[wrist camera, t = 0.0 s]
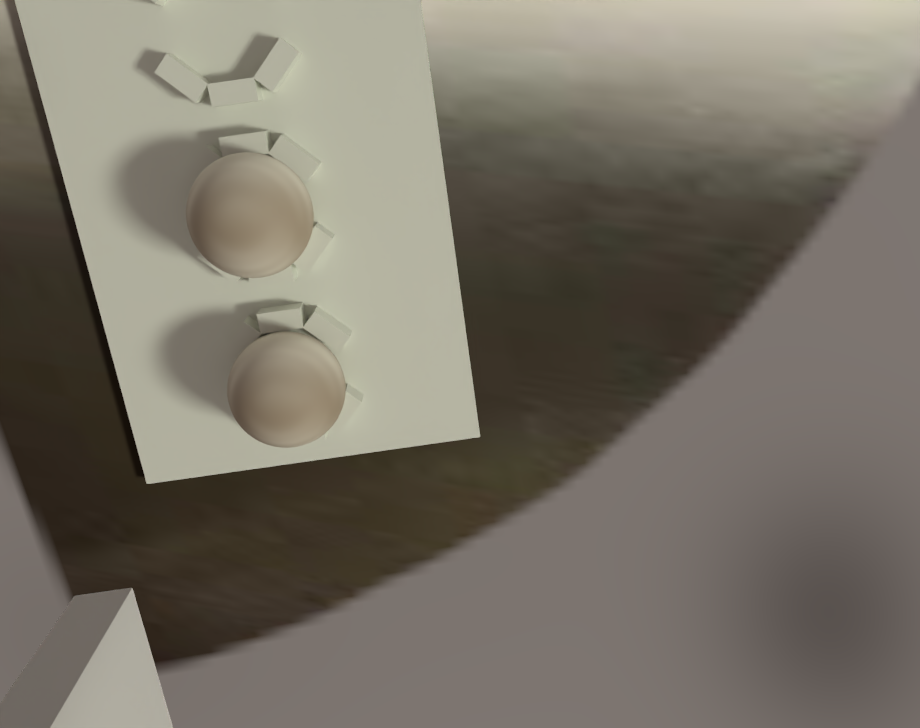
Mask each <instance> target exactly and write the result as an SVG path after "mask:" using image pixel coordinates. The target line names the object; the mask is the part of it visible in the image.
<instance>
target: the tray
mask: <svg viewBox="0 0 920 728" xmlns="http://www.w3.org/2000/svg"><path fill="white" fill-rule="evenodd" d="M15 4H16V7H17V11H18V15H19V18H20V22H21V26H22V29H23V33H24V37H25V40H26V44H27V48H28V51H29V55H30V59H31V62H32V66H33V70H34V73H35V77H36V80H37V84H38V88H39V91H40V95H41V99H42V102H43V106H44V110H45V113H46V117H47V121H48V124H49V128H50V132H51V135H52V139H53V143H54V146H55V150H56V154H57V157H58V161H59V165H60V168H61V172H62V176H63V179H64V183H65V187H66V190H67V194H68V198H69V201H70V205H71V209H72V212H73V216H74V219H75V223H76V227H77V230H78V234H79V238H80V241H81V245H82V249H83V252H84V256H85V260H86V263H87V267H88V271H89V274H90V278H91V282H92V285H93V289H94V293H95V296H96V300H97V304H98V307H99V311H100V315H101V318H102V322H103V326H104V329H105V333H106V337H107V340H108V344H109V348H110V351H111V355H112V358H113V362H114V366H115V369H116V373H117V377H118V380H119V384H120V388H121V391H122V395H123V399H124V402H125V406H126V410H127V413H128V417H129V421H130V424H131V428H132V432H133V435H134V439H135V443H136V446H137V450H138V454H139V457H140V461H141V465H142V468H143V472H144V476H145V479H146V483H147V484H150V483H158V482H165V481H172V480H179V479H186V478H193V477H200V476H207V475H214V474H221V473H228V472H235V471H242V470H250V469H257V468H264V467H271V466H278V465H285V464H292V463H299V462H306V461H313V460H320V459H327V458H334V457H342V456H349V455H356V454H363V453H370V452H377V451H384V450H391V449H398V448H405V447H412V446H419V445H426V444H434V443H441V442H448V441H455V440H462V439H469V438H476V437H480V432H479V424H478V417H477V410H476V402H475V395H474V388H473V380H472V373H471V366H470V358H469V351H468V344H467V336H466V329H465V322H464V314H463V307H462V300H461V292H460V285H459V278H458V270H457V263H456V256H455V248H454V241H453V234H452V226H451V219H450V212H449V204H448V197H447V190H446V182H445V175H444V168H443V160H442V153H441V146H440V139H439V131H438V124H437V117H436V109H435V102H434V95H433V87H432V80H431V73H430V65H429V58H428V51H427V43H426V36H425V29H424V21H423V14H422V7H421V0H15ZM242 152H252V153H260V154H265V155H268V156H271V157H273V158H275V159H277V160H279V161H281V162H283V163H284V164H286V165H287V166H288V167H289V168H291V169H292V170H293V171H294V172H295V173H296V174H297V175H298V176H299V178H300V179H301V180H302V182H303V183H304V185H305V187H306V189H307V190H308V193H309V195H310V198H311V201H312V205H313V212H314V223H313V230H312V234H311V237H310V240H309V242H308V245H307V247H306V248H305V250H304V252H303V253H302V254H301V256H300V257H299V258H298V259H297V260H296V261H295V262H294V263H293V264H292V265H290V266H289V267H287V268H286V269H284V270H283V271H281V272H279V273H276V274H274V275H271V276H267V277H261V278H243V277H238V276H234V275H231V274H228V273H226V272H224V271H222V270H220V269H218V268H217V267H215V266H214V265H212V264H211V263H210V262H209V261H207V260H206V259H205V258H204V257H203V256H202V254H201V253H200V252H199V250H198V249H197V248H196V246H195V244H194V243H193V240H192V238H191V236H190V233H189V230H188V227H187V221H186V205H187V199H188V195H189V192H190V190H191V187H192V185H193V183H194V182H195V180H196V178H197V177H198V176H199V174H200V173H201V172H202V171H203V170H204V169H205V168H206V167H207V166H209V165H210V164H211V163H213V162H214V161H216V160H218V159H220V158H222V157H224V156H227V155H230V154H235V153H242ZM285 331H288V332H298V333H302V334H305V335H308V336H311V337H313V338H315V339H317V340H318V341H320V342H321V343H323V344H324V345H325V346H327V347H328V348H329V349H330V350H331V352H332V353H333V354H334V355H335V357H336V358H337V360H338V362H339V363H340V366H341V368H342V371H343V374H344V378H345V385H346V393H345V401H344V405H343V408H342V411H341V413H340V415H339V417H338V419H337V420H336V422H335V423H334V425H333V426H332V427H331V428H330V429H329V430H328V431H327V432H326V433H325V434H324V435H323V436H321V437H320V438H318V439H317V440H315V441H313V442H310V443H308V444H305V445H302V446H298V447H291V448H281V447H274V446H270V445H267V444H264V443H262V442H259V441H258V440H256V439H254V438H253V437H251V436H250V435H248V434H247V433H246V432H245V431H244V430H243V429H242V428H241V427H240V425H239V424H238V423H237V421H236V420H235V418H234V416H233V414H232V412H231V409H230V406H229V403H228V397H227V384H228V377H229V374H230V371H231V368H232V366H233V364H234V362H235V360H236V359H237V357H238V356H239V354H240V353H241V352H242V351H243V350H244V349H245V348H246V347H247V346H248V345H249V344H251V343H252V342H253V341H255V340H257V339H259V338H261V337H263V336H265V335H268V334H271V333H276V332H285Z"/></svg>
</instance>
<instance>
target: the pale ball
mask: <svg viewBox="0 0 920 728" xmlns="http://www.w3.org/2000/svg"><path fill="white" fill-rule="evenodd" d="M345 393H346V385H345V378H344V374H343V371H342V368H341V366H340V363H339V362H338V360H337V358H336V357H335V355H334V354H333V353H332V352H331V350H330V349H329V348H328V347H327V346H325V345H324V344H323V343H321V342H320V341H318V340H317V339H315V338H313V337H311V336H308V335H305V334H302V333H298V332H288V331H285V332H276V333H271V334H268V335H265V336H263V337H261V338H259V339H257V340H255V341H253V342H252V343H251V344H249V345H248V346H247V347H246V348H245V349H244V350H243V351H242V352H241V353H240V354H239V356H238V357H237V359H236V360H235V362H234V364H233V366H232V368H231V371H230V374H229V377H228V384H227V397H228V403H229V406H230V409H231V412H232V414H233V416H234V418H235V420H236V421H237V423H238V424H239V425H240V427H241V428H242V429H243V430H244V431H245V432H246V433H247V434H248V435H250V436H251V437H253V438H254V439H256V440H258V441H259V442H262V443H264V444H267V445H270V446H274V447H281V448H291V447H298V446H302V445H305V444H308V443H310V442H313V441H315V440H317V439H318V438H320V437H321V436H323V435H324V434H325V433H326V432H327V431H328V430H329V429H330V428H331V427H332V426H333V425H334V423H335V422H336V420H337V419H338V417H339V415H340V413H341V411H342V408H343V405H344V401H345Z"/></svg>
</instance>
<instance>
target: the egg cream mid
mask: <svg viewBox="0 0 920 728" xmlns="http://www.w3.org/2000/svg"><path fill="white" fill-rule="evenodd" d="M186 221H187V227H188V230H189V233H190V236H191V238H192V240H193V243H194V244H195V246H196V248H197V249H198V250H199V252H200V253H201V254H202V256H203V257H204V258H205V259H206V260H207V261H209V262H210V263H211V264H212V265H214V266H215V267H217V268H218V269H220V270H222V271H224V272H226V273H228V274H231V275H234V276H238V277H243V278H261V277H267V276H271V275H274V274H276V273H279V272H281V271H283V270H284V269H286V268H287V267H289V266H290V265H292V264H293V263H294V262H295V261H296V260H297V259H298V258H299V257H300V256H301V254H302V253H303V252H304V250H305V248H306V247H307V245H308V242H309V240H310V237H311V234H312V230H313V223H314V212H313V205H312V201H311V198H310V195H309V193H308V190H307V189H306V187H305V185H304V183H303V182H302V180H301V179H300V178H299V176H298V175H297V174H296V173H295V172H294V171H293V170H292V169H291V168H289V167H288V166H287V165H286V164H284V163H283V162H281V161H279V160H277V159H275V158H273V157H271V156H268V155H265V154H260V153H252V152H242V153H235V154H230V155H227V156H224V157H222V158H220V159H218V160H216V161H214V162H213V163H211V164H210V165H209V166H207V167H206V168H205V169H204V170H203V171H202V172H201V173H200V174H199V176H198V177H197V178H196V180H195V182H194V183H193V185H192V187H191V190H190V192H189V195H188V199H187V205H186Z"/></svg>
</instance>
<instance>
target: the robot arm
mask: <svg viewBox="0 0 920 728" xmlns="http://www.w3.org/2000/svg"><path fill="white" fill-rule="evenodd" d="M0 728H173V726H172V722H171V719H170V716H169V712H168V709H167V705H166V702H165V698H164V695H163V692H162V688H161V685H160V681H159V678H158V674H157V671H156V668H155V664H154V661H153V657H152V654H151V650H150V647H149V644H148V640H147V637H146V633H145V630H144V626H143V623H142V619H141V616H140V613H139V609H138V606H137V602H136V599H135V595H134V592H133V589H132V588H127V589H120V590H113V591H106V592H99V593H92V594H85V595H78V596H74V597H73V599H72V600H71V602H70V603H69V605H68V606H67V607H66V609H65V610H64V612H63V613H62V615H61V616H60V618H59V619H58V620H57V622H56V623H55V625H54V626H53V628H52V629H51V630H50V632H49V633H48V635H47V636H46V638H45V639H44V641H43V642H42V643H41V645H40V647H39V648H38V649H37V651H36V652H35V654H34V655H33V657H32V658H31V659H30V661H29V662H28V664H27V665H26V667H25V668H24V669H23V671H22V672H21V674H20V675H19V677H18V678H17V680H16V681H15V682H14V684H13V685H12V687H11V688H10V690H9V691H8V693H7V694H6V695H5V697H4V698H3V700H2V701H1V703H0Z"/></svg>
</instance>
